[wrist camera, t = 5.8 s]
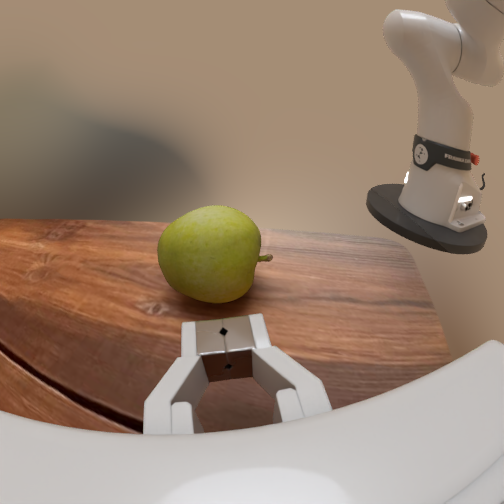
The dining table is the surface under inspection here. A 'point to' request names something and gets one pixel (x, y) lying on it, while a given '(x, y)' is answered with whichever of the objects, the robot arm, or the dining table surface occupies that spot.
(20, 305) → the dining table surface
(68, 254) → the dining table surface
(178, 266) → the apple
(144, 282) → the dining table surface
